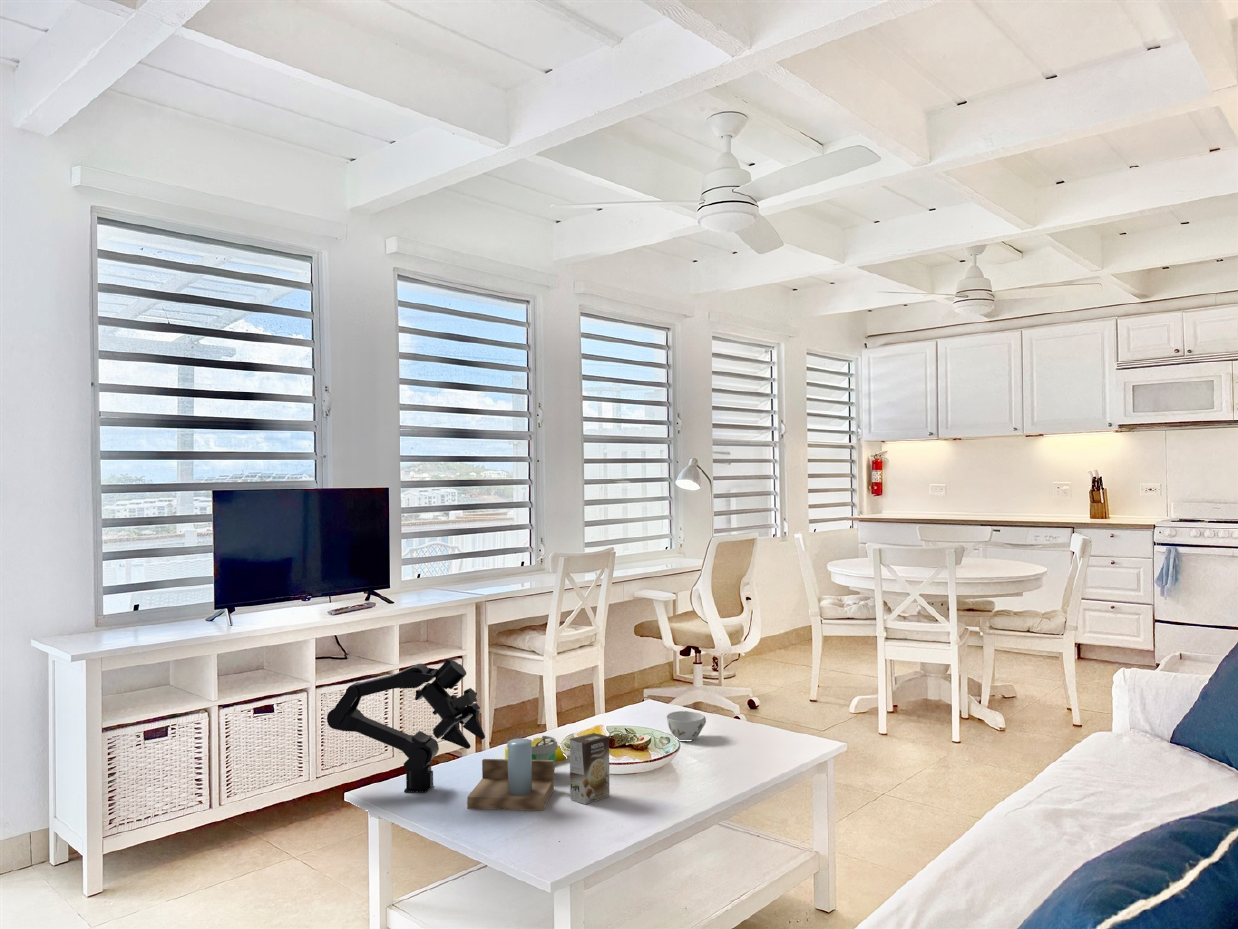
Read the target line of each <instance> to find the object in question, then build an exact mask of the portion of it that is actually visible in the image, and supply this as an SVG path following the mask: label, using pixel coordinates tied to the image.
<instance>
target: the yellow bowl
mask: <svg viewBox="0 0 1238 929" xmlns="http://www.w3.org/2000/svg"><path fill="white" fill-rule="evenodd" d="M530 740H531V741H532V747H535V746H536V744H537V743H538V742H540V741H541V740H542V737H535V738H532V739H530ZM561 744H562V742H561V743H560V742H558V741H557V745H558V749H557V750H556V752H555V764H556V763H559V762H562V761H566V760H567V759H566V757H565V756H564V755H563V753H562V751H561V748H560V745H561ZM504 759H508V754H507V746H505V748H504Z"/></svg>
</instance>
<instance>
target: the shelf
mask: <svg viewBox="0 0 1238 929" xmlns="http://www.w3.org/2000/svg"><path fill="white" fill-rule="evenodd" d="M481 765H482V767H481V771H482V773H481V774H482V778H481V779H480V781H479V782H478V783H477V784H476V786H474V788H473V789H472V791H471V792H470V793H468V794H469V795H467V800H466V804H467V806H466V807H467V808H466V809H468V810H474V809H475V810H505V811H507V810H510V811H514V810H515V811H516V810H517V811H544V808H545V807H546V805H547V803H548V802H549V799H550V798H551V796H552V794H553V792H554V790H555V770H554V760H532V792H531V793H529V794H527V795H521V796H515V795H511V794H509V793H508V759H505V758H504V759H503V758H483V759H482V760H481Z"/></svg>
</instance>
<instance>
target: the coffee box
mask: <svg viewBox="0 0 1238 929" xmlns="http://www.w3.org/2000/svg"><path fill="white" fill-rule="evenodd" d="M608 797H610V736H608V735H605V734H601V733H597V732H596V733H595V732H592V733H588V734H584V735H579V736H575V737H572V738H569V799H570V800H571V801H574V802H577V803H580V804H583V805H587V804H590V803H594V802H596V801H599V800H602V799H605V798H608Z"/></svg>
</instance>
